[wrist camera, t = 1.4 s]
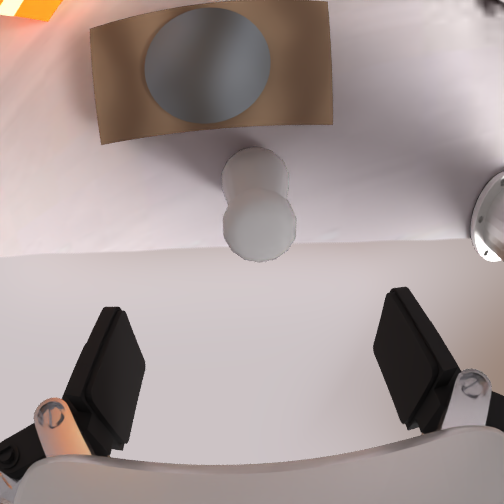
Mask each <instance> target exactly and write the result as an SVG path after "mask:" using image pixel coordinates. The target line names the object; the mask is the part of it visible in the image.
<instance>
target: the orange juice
mask: <svg viewBox="0 0 504 504" xmlns="http://www.w3.org/2000/svg"><path fill="white" fill-rule="evenodd" d="M62 1H63V0H0V15H7V16H18V17H24V18H30V19H36V20H42V21H47V22H48V21H49V19H50V18H51V16H52V15H53V13H54V12H55V10H56V9H57V8H58V6H59V5H60V3H61V2H62Z"/></svg>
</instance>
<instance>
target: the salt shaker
mask: <svg viewBox="0 0 504 504" xmlns="http://www.w3.org/2000/svg"><path fill="white" fill-rule="evenodd" d="M288 189H289V172H288V170H287V168H286V166H285V163H284V161H283V160H282V159H281V158H280V157H279V156H277V155H276V154H275V153H273V152H272V151H271V150H267V149H263V148H259V147H252V148H247V149H243V150H240V151H239V152H237V153H236V154H235V155H234V156H232V157H231V158H230V159H229V160H228V161H227V163H226V165H225V167H224V169H223V172H222V190H223V193H224V196H225V198H226V201H227V204H228V207H227V209H226V212H225V214H224V217H223V235H224V238H225V240H226V242H227V243H228V245H229V247H230V248H231V250H232V251H233V252H234V253H236V254H237V255H238V256H240V257H241V258H243V259H244V260H249V261H255V262H264V261H269V260H274V259H276V258H278V257H279V256H281V255H282V254H283V253H285V252H286V251H288V249H289V247H290V246H291V244H292V243H293V241H294V239H295V235H296V216H295V214H294V212H293V210H292V207H291V205H290V203H289V201H288V200H287V195H288Z"/></svg>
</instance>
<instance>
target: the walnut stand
mask: <svg viewBox="0 0 504 504" xmlns="http://www.w3.org/2000/svg"><path fill="white" fill-rule="evenodd" d="M90 44H91V60H92V73H93V84H94V94H95V103H96V111H97V119H98V126H99V133H100V139H101V145H104V144H109V143H115V142H120V141H126V140H132V139H138V138H144V137H151V136H158V135H165V134H173V133H181V132H189V131H199V130H209V129H220V128H233V127H248V126H269V125H333V94H332V62H331V42H330V26H329V12H328V2H325V1H311V0H240V1H226V2H215V3H206V4H198V5H190V6H184V7H177V8H171V9H166V10H161V11H156V12H151V13H146V14H142V15H137V16H133V17H129V18H125V19H122V20H118V21H114V22H111V23H107V24H104V25H101V26H97V27H94V28H91V29H90Z"/></svg>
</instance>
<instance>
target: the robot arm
mask: <svg viewBox="0 0 504 504" xmlns="http://www.w3.org/2000/svg"><path fill="white" fill-rule="evenodd" d="M471 240H472V244H473V246H474V249H475V250H476V251H477V253H478V254H479V255H480V256H481V257H482V258H484V259H486V260H488V261H499V260H502V261H503V262H504V171H503V172H501V173H499V174H497V175H496V176H495V177H493V178H492V179H491V180H490V181H489V182H488V184H487V185H486V186H485V188H484V189H483V191H482V192H481V194H480V196H479V198H478V200H477V202H476V205H475V208H474V211H473V215H472V220H471ZM373 351H374V355H375V357H376V359H377V362H378V364H379V367H380V369H381V372H382V374H383V377H384V379H385V382H386V384H387V387H388V389H389V392H390V395H391V397H392V400H393V402H394V405H395V408H396V410H397V413H398V416H399V418H400V421H401V422H402V423H403V424H406V427H407V430H411V429H415V428H417V427H419V428H420V431H421V432H422V434H421V435H420V436H417V437H413V438H410V439H406V440H402V441H398V442H395V443H390V444H386V445H382V446H378V447H374V448H369V449H365V450H360V451H355V452H350V453H344V454H339V455H333V456H327V457H320V458H313V459H306V460H297V461H288V462H278V463H263V464H244V465H188V464H170V463H155V462H145V461H135V460H126V459H118V458H111V457H110V454H111V449H115V450H123V447H124V443H126V444H127V443H128V441H129V437H130V432H131V428H132V423H133V419H134V414H135V410H136V405H137V401H138V396H139V392H140V388H141V384H142V380H143V376H144V372H145V360H144V358H143V355H142V353H141V350H140V348H139V346H138V343H137V341H136V338H135V335H134V333H133V330H132V328H131V325H130V322H129V320H128V317H127V314H126V312H125V311H122V310H121V309H120V307H104V308H103V310H102V312H101V313H100V316H99V318H98V320H97V322H96V324H95V326H94V328H93V330H92V332H91V335H90V337H89V339H88V341H87V343H86V344H85V346H84V348H83V350H82V352H81V354H80V357H79V359H78V361H77V363H76V366H75V368H74V370H73V373H72V375H71V378H70V380H69V382H68V385H67V387H66V390H65V392H64V395H63V397H62V399H60V398H50V399H47V400H45V401H43V402H42V403H40V405H39V406H38V407H37V409H36V411H35V413H34V423H33V424H31V425H30V426H28V427H26V428H25V429H23V430H21V431H19V432H18V433H16V434H14V435H12V436H11V437H9V438H7V439H5V440H4V441H2V442H1V443H0V504H504V396H503V395H500V394H498V393H495V392H493V391H492V388H491V387H492V386H491V382H490V380H489V379H488V377H487V376H486V375H485V374H484V373H483V372H481V371H479V370H476V369H466V370H463V371H461V370H460V368H459V367H458V365H457V363H456V361H455V360H454V358H453V356H452V355H451V353H450V351H449V350H448V348H447V346H446V345H445V343H444V342H443V340H442V338H441V337H440V335H439V333H438V332H437V330H436V329H435V327H434V325H433V324H432V322H431V321H430V320H429V318H428V317H427V315H426V314H425V312H424V311H423V309H422V308H421V306H420V305H419V303H418V302H417V300H416V299H415V297H414V296H413V294H412V293H411V291H410V290H409V289H408V288H407V287H400V288H393V289H391V291H390V293H387V295H386V298H385V302H384V306H383V310H382V315H381V319H380V322H379V326H378V330H377V334H376V337H375V341H374V345H373Z"/></svg>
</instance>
